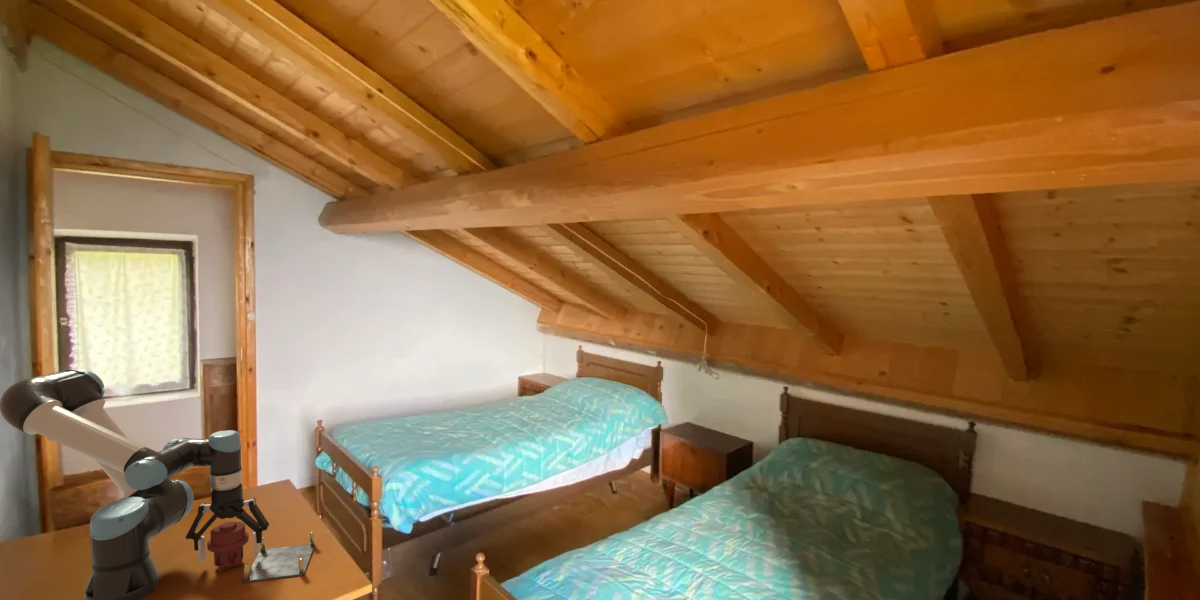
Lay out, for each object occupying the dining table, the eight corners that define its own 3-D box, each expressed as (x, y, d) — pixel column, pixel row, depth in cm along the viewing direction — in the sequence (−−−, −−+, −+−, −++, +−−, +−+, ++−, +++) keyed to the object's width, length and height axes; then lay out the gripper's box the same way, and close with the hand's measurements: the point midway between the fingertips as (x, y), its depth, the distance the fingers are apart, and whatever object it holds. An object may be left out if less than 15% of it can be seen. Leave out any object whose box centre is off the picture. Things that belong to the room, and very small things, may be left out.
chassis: (243, 582, 155) (242, 567, 155) (260, 551, 171) (260, 536, 171) (303, 575, 159) (303, 560, 159) (315, 544, 176) (315, 531, 175)
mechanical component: (257, 558, 167) (229, 577, 157) (229, 554, 169) (199, 572, 159) (256, 518, 166) (227, 535, 156) (227, 514, 168) (197, 530, 158)
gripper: (169, 495, 154) (173, 570, 156) (272, 486, 161) (274, 557, 163) (181, 485, 161) (184, 556, 163) (278, 476, 168) (281, 544, 170)
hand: (229, 556), depth 163 cm, fingers open, 13 cm apart
